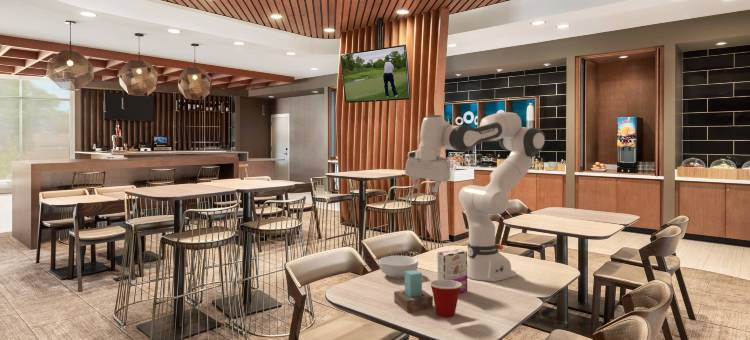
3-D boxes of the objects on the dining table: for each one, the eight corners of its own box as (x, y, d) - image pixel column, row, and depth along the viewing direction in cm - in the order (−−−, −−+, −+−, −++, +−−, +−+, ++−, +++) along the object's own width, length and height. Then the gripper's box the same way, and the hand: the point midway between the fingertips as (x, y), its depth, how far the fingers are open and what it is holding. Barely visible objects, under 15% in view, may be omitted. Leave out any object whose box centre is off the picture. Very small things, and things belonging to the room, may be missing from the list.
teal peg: (415, 301, 169) (415, 269, 168) (421, 306, 165) (421, 273, 164) (404, 303, 167) (404, 271, 166) (410, 308, 163) (410, 274, 162)
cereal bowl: (424, 273, 205) (424, 258, 205) (406, 284, 191) (406, 267, 191) (391, 268, 214) (391, 253, 214) (371, 277, 200) (371, 261, 200)
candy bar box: (459, 288, 186) (460, 248, 184) (467, 292, 181) (468, 251, 180) (436, 293, 181) (436, 251, 179) (444, 297, 176) (444, 254, 175)
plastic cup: (461, 311, 162) (461, 278, 161) (462, 324, 152) (462, 288, 151) (430, 309, 164) (430, 276, 163) (428, 322, 154) (428, 286, 153)
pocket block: (419, 300, 173) (419, 287, 172) (432, 310, 163) (432, 296, 163) (394, 304, 169) (394, 291, 168) (406, 315, 160) (406, 301, 159)
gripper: (455, 158, 179) (451, 194, 180) (414, 153, 193) (410, 186, 194) (445, 157, 174) (441, 194, 175) (404, 152, 188) (400, 186, 189)
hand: (425, 190), depth 185 cm, fingers open, 8 cm apart
